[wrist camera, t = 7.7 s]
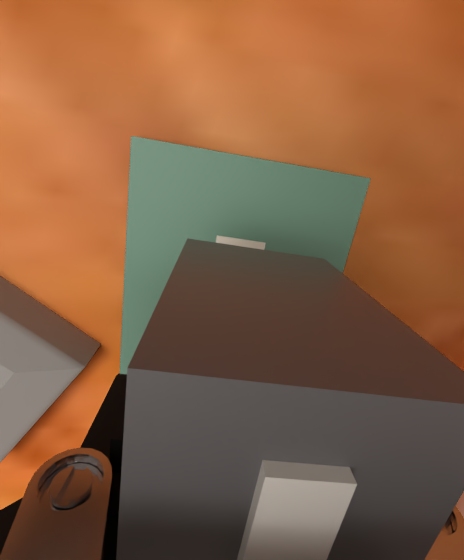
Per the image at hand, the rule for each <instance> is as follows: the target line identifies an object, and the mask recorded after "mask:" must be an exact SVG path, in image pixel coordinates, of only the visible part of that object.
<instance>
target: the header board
mask: <svg viewBox="0 0 464 560" xmlns="http://www.w3.org/2000/svg"><path fill="white" fill-rule="evenodd" d="M370 179H371V178H366V177H360V176H355V175H349V174H343V173H338V172H332V171H326V170H321V169H315V168H309V167H304V166H298V165H293V164H287V163H281V162H276V161H270V160H264V159H259V158H253V157H247V156H242V155H236V154H231V153H225V152H219V151H214V150H208V149H202V148H197V147H191V146H185V145H180V144H174V143H169V142H163V141H157V140H152V139H146V138H140V137H135V136H131V149H130V170H129V191H128V211H127V232H126V252H125V273H124V294H123V314H122V335H121V355H120V374H127V368H128V366H129V363H130V361H131V359H132V357H133V355H134V353H135V350H136V348H137V346H138V344H139V342H140V340H141V338H142V335H143V333H144V331H145V329H146V327H147V325H148V322H149V320H150V318H151V316H152V314H153V312H154V309H155V307H156V305H157V303H158V301H159V299H160V296H161V294H162V292H163V290H164V288H165V286H166V283H167V281H168V279H169V277H170V275H171V273H172V270H173V268H174V266H175V264H176V262H177V260H178V257H179V255H180V253H181V251H182V249H183V247H184V245H185V242H186V240H187V238H188V239H195V240H202V241H209V242H215V243H222V244H229V245H235V246H242V247H249V248H256V249H262V250H269V251H276V252H282V253H289V254H296V255H302V256H309V257H316V258H323V259H325V260H327V261H328V262H329V263H330V264H332V265H333V266H334V267H335V268H337V269H338V270H339V271H340V272H341V273H343V271H344V267H345V264H346V260H347V257H348V254H349V250H350V247H351V243H352V240H353V237H354V233H355V230H356V226H357V223H358V220H359V216H360V213H361V210H362V206H363V203H364V199H365V196H366V193H367V189H368V186H369V182H370Z"/></svg>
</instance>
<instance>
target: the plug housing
mask: <svg viewBox="0 0 464 560" xmlns="http://www.w3.org/2000/svg"><path fill="white" fill-rule="evenodd" d="M463 491H464V371H462V370H461V369H460V368H459V367H457V366H456V365H455V364H454V363H453V362H451V361H450V360H449V359H448V358H446V357H445V356H444V355H443V354H441V353H440V352H439V351H438V350H436V349H435V348H434V347H433V346H432V345H430V344H429V343H428V342H427V341H425V340H424V339H423V338H422V337H420V336H419V335H418V334H417V333H415V332H414V331H413V330H412V329H411V328H409V327H408V326H407V325H406V324H404V323H403V322H402V321H401V320H399V319H398V318H397V317H396V316H395V315H393V314H392V313H391V312H390V311H388V310H387V309H386V308H385V307H383V306H382V305H381V304H380V303H378V302H377V301H376V300H375V299H374V298H372V297H371V296H370V295H369V294H367V293H366V292H365V291H364V290H362V289H361V288H360V287H359V286H358V285H356V284H355V283H354V282H353V281H351V280H350V279H349V278H348V277H346V276H345V275H344V274H343V273H341V272H340V271H339V270H338V269H337V268H335V267H334V266H333V265H332V264H330V263H329V262H328V261H327V260H325V259H323V258H316V257H309V256H302V255H296V254H289V253H282V252H276V251H269V250H262V249H256V248H249V247H242V246H235V245H229V244H222V243H215V242H209V241H202V240H195V239H188V238H187V240H186V242H185V245H184V247H183V249H182V251H181V253H180V255H179V257H178V260H177V262H176V264H175V266H174V268H173V270H172V273H171V275H170V277H169V279H168V281H167V283H166V286H165V288H164V290H163V292H162V294H161V296H160V299H159V301H158V303H157V305H156V307H155V309H154V312H153V314H152V316H151V318H150V320H149V322H148V325H147V327H146V329H145V331H144V333H143V335H142V338H141V340H140V342H139V344H138V346H137V348H136V350H135V353H134V355H133V357H132V359H131V361H130V363H129V366H128V368H127V383H126V400H125V417H124V434H123V451H122V468H121V485H120V502H119V519H118V536H117V553H116V560H425V558H426V556H427V555H428V553H429V551H430V549H431V548H432V546H433V544H434V542H435V540H436V539H437V537H438V535H439V533H440V532H441V530H442V528H443V526H444V525H445V523H446V521H447V519H448V518H449V516H450V514H451V512H452V511H453V509H454V507H455V505H456V503H457V502H458V500H459V498H460V496H461V495H462V493H463Z"/></svg>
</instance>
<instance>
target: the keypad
mask: <svg viewBox="0 0 464 560" xmlns="http://www.w3.org/2000/svg"><path fill="white" fill-rule="evenodd" d="M100 345H101V344H100V343H99V342H97V341H96V340H94V339H93V338H91V337H90V336H88V335H87V334H85V333H84V332H82V331H81V330H79V329H78V328H76V327H75V326H73V325H72V324H71V323H69V322H68V321H66V320H65V319H63V318H62V317H60V316H59V315H57V314H56V313H54V312H53V311H51V310H50V309H48V308H47V307H45V306H44V305H42V304H41V303H40V302H38V301H37V300H35V299H34V298H32V297H31V296H29V295H28V294H26V293H25V292H23V291H22V290H20V289H19V288H17V287H16V286H14V285H13V284H11V283H10V282H9V281H7V280H6V279H4V278H3V277H1V276H0V462H1V461H2V460H3V459H4V458H5V457H6V456H7V454H8V453H9V452H10V451H11V450H12V449H13V448H14V447H15V445H16V444H17V443H18V442H19V441H20V440H21V439H22V438H23V436H24V435H25V434H26V433H27V432H28V431H29V430H30V429H31V427H32V426H33V425H34V424H35V423H36V422H37V421H38V420H39V418H40V417H41V416H42V415H43V414H44V413H45V412H46V411H47V409H48V408H49V407H50V406H51V405H52V404H53V403H54V401H55V400H56V399H57V398H58V397H59V396H60V395H61V394H62V392H63V391H64V390H65V389H66V388H67V387H68V386H69V385H70V383H71V382H72V381H73V380H74V379H75V378H76V377H77V376H78V374H79V373H80V372H81V371H82V370H83V369H84V368H85V367H86V365H87V364H88V362H89V361H90V359H91V358H92V356H93V355H94V354H95V352H96V351H97V349H98V348H99V346H100Z"/></svg>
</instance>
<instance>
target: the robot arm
mask: <svg viewBox="0 0 464 560" xmlns="http://www.w3.org/2000/svg"><path fill="white" fill-rule="evenodd" d="M126 383H127V374H118V375H117V376H116V377H115V379H114V381H113V383H112V385H111V387H110V389H109V391H108V393H107V395H106V397H105V399H104V401H103V403H102V405H101V407H100V409H99V411H98V413H97V415H96V417H95V419H94V421H93V423H92V425H91V427H90V429H89V431H88V433H87V435H86V437H85V439H84V441H83V444H82V446H81V448H76V449H70V450H67V451H64V452H62V453H59V454H57V455H55V456H54V457H52V458H51V459H49V460H48V461H46V462H45V463H44V464H43V465H42V466H41V467H40V468H39V469H38V470H37V471H36V472H35V473H34V475H33V477H32V479H31V480H30V482H29V484H28V486H27V489H26V491H25V494H24V496H23V498H21V499H19V500H18V501H16V502H14V503H12V504H11V505H9V506H7V507H5V508H4V509H2V510H0V560H116V553H117V536H118V519H119V502H120V485H121V468H122V451H123V434H124V417H125V400H126ZM425 560H464V518H463V516H462V515H461V513H460V511H459V510H458V508H457V507H456V506H455V507H454V509H453V511H452V512H451V514H450V516H449V518H448V519H447V521H446V523H445V525H444V526H443V528H442V530H441V532H440V533H439V535H438V537H437V539H436V540H435V542H434V544H433V546H432V548H431V549H430V551H429V553H428V555H427V556H426V558H425Z"/></svg>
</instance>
